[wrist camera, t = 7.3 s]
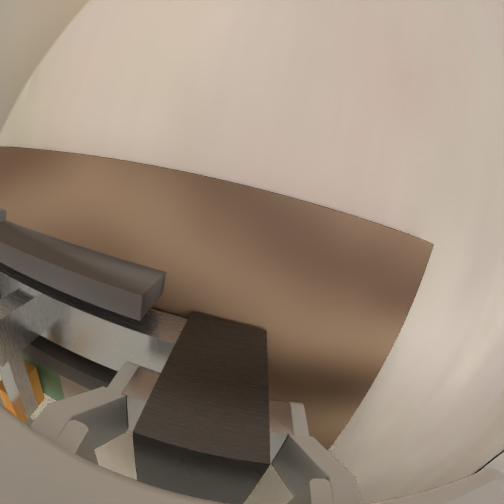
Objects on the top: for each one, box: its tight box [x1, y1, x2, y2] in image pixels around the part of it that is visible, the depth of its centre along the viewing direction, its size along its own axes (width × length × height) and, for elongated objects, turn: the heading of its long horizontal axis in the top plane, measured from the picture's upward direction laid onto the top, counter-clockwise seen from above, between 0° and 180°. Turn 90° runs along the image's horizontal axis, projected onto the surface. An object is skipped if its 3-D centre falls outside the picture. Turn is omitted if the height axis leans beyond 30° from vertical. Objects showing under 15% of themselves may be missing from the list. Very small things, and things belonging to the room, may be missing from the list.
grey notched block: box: [0, 266, 270, 504], centre depth 9 cm, size 6×13×7 cm, turn 76°
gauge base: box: [0, 146, 434, 450], centre depth 10 cm, size 14×24×7 cm, turn 76°
